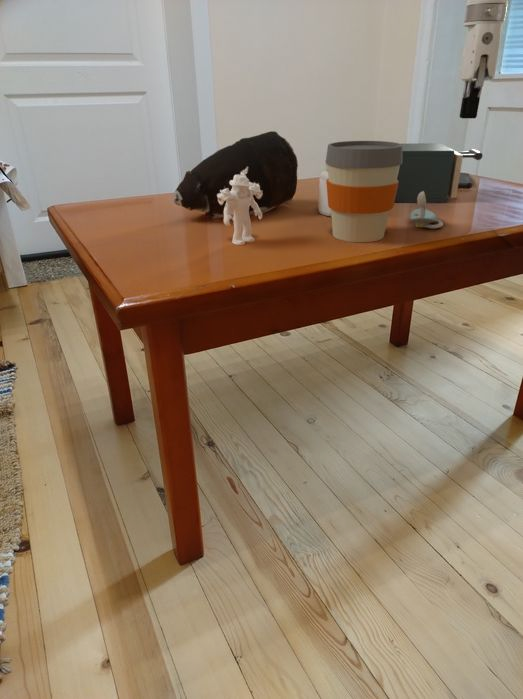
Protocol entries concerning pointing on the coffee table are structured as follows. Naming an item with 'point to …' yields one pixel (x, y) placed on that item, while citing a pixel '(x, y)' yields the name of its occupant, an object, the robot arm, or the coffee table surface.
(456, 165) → the drawer
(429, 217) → the pacifier
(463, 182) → the phone
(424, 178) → the cabinet
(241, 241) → the flower shoulder figurine
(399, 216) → the coffee table surface
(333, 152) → the reusable coffee cup
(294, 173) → the dark brown rounded shape
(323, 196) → the eye dropper bottle
